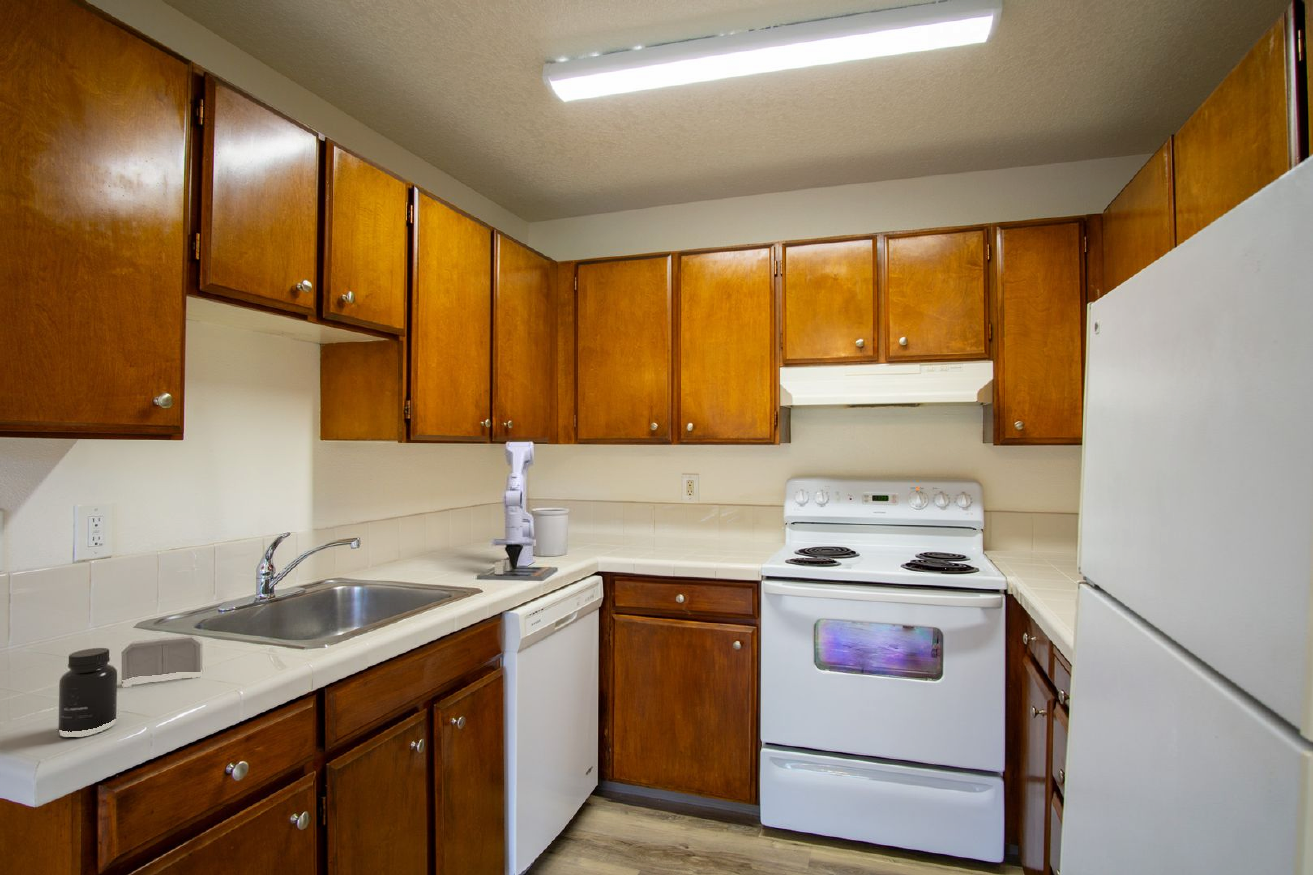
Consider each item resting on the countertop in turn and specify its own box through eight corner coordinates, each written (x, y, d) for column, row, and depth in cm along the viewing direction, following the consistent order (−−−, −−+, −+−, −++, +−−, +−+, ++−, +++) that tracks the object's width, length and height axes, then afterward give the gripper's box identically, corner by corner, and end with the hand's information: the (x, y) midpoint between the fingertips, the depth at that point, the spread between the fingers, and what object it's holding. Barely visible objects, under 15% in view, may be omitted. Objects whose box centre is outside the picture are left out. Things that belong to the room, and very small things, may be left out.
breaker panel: (496, 569, 228) (496, 554, 228) (557, 570, 224) (557, 555, 224) (476, 579, 212) (476, 563, 212) (542, 580, 209) (542, 564, 209)
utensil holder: (553, 549, 269) (553, 506, 270) (576, 553, 259) (576, 508, 259) (523, 553, 259) (523, 509, 259) (546, 558, 248) (546, 512, 249)
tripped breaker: (504, 569, 220) (504, 557, 220) (512, 569, 220) (512, 557, 220) (500, 570, 217) (500, 558, 218) (509, 570, 217) (509, 559, 217)
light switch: (124, 684, 121) (124, 642, 121) (202, 674, 126) (202, 633, 126) (121, 687, 120) (121, 644, 120) (200, 677, 124) (200, 636, 124)
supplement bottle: (62, 744, 97) (61, 662, 97) (55, 730, 102) (55, 652, 102) (121, 728, 102) (121, 651, 102) (112, 716, 107) (112, 642, 107)
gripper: (488, 527, 215) (488, 569, 215) (530, 528, 213) (531, 570, 213) (496, 525, 222) (496, 565, 222) (537, 525, 220) (538, 566, 220)
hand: (514, 567), depth 218 cm, fingers closed
